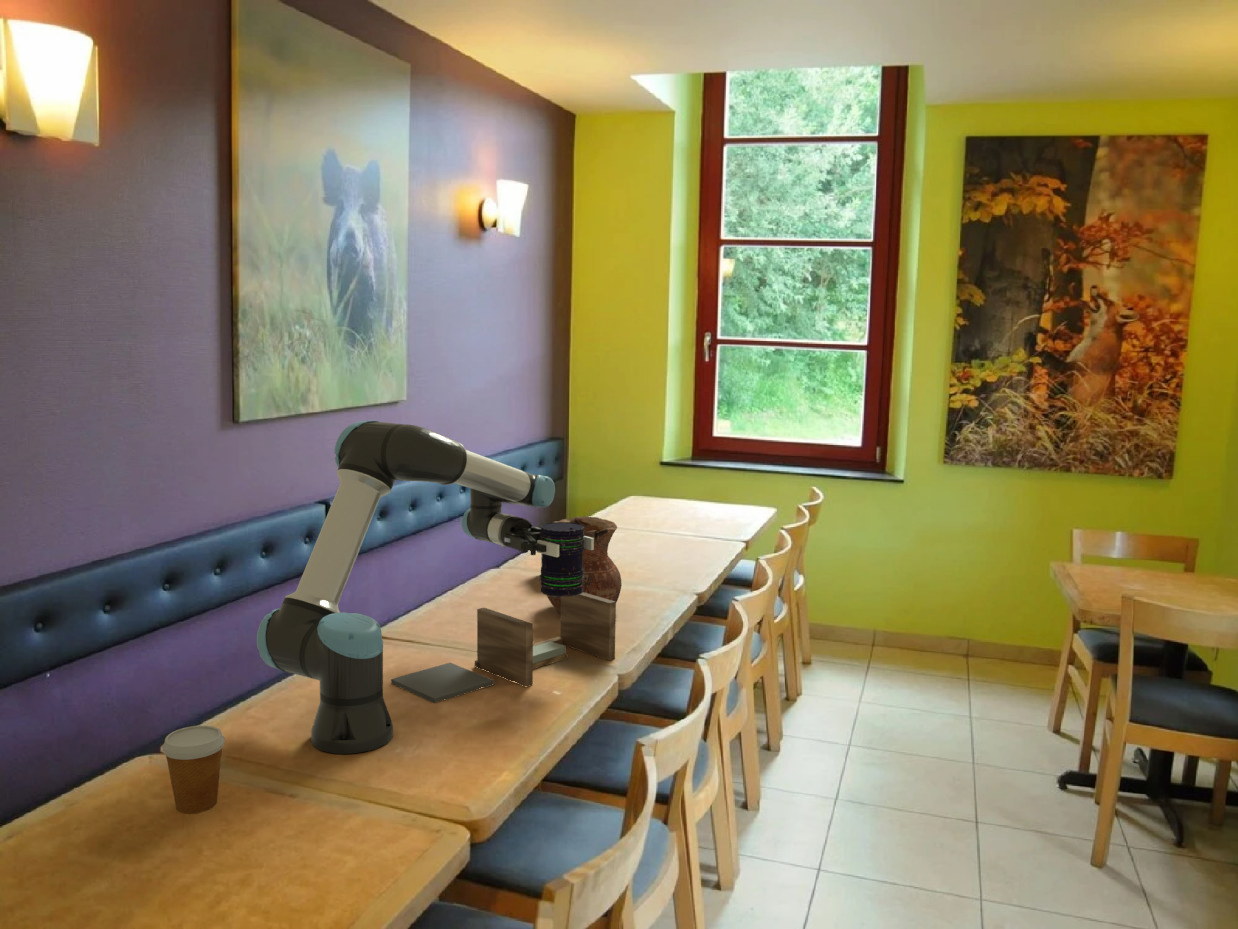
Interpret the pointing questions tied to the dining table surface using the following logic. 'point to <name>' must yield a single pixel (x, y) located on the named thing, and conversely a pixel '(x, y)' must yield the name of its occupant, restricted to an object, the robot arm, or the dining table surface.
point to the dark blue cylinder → (563, 560)
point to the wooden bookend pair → (512, 645)
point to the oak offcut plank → (549, 660)
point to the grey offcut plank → (547, 651)
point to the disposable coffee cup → (194, 766)
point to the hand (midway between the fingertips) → (575, 547)
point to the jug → (596, 561)
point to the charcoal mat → (442, 682)
